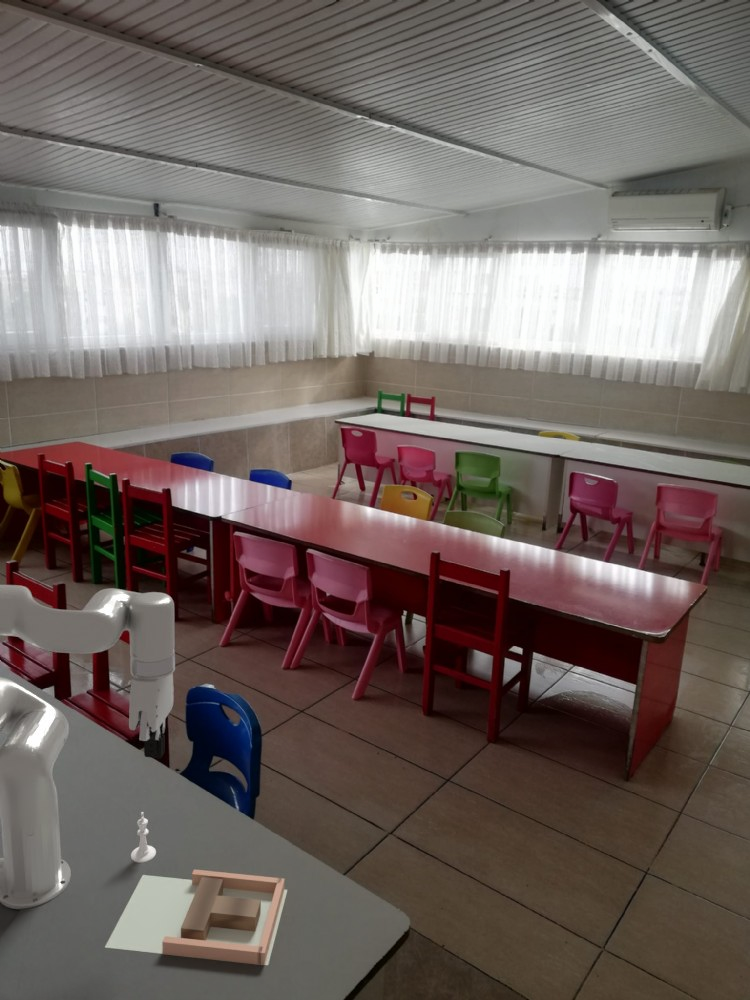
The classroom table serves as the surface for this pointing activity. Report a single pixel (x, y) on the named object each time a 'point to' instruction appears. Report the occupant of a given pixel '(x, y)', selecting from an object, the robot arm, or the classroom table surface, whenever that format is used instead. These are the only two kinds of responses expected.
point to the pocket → (228, 949)
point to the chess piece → (143, 843)
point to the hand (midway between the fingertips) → (154, 755)
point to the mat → (179, 916)
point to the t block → (218, 911)
